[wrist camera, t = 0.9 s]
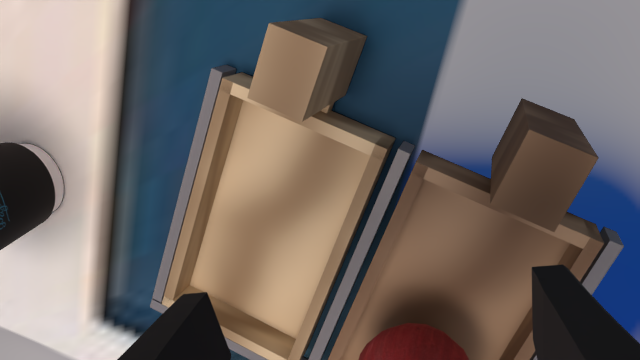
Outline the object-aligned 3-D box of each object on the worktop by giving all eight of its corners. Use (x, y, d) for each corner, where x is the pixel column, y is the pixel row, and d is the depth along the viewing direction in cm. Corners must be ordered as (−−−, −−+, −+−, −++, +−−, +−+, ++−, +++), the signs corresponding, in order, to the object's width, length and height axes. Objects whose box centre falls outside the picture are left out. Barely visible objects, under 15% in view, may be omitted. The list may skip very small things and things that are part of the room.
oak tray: (428, 60, 25) (406, 79, 19) (306, 349, 32) (263, 428, 26) (263, -5, 26) (196, -7, 21) (181, 286, 34) (113, 346, 28)
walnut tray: (643, 147, 23) (692, 196, 18) (466, 431, 31) (458, 534, 25) (456, 72, 25) (443, 94, 19) (328, 360, 32) (289, 442, 26)
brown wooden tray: (616, 232, 25) (624, 246, 24) (473, 453, 31) (471, 475, 30) (226, 64, 28) (211, 68, 27) (164, 293, 34) (150, 307, 33)
